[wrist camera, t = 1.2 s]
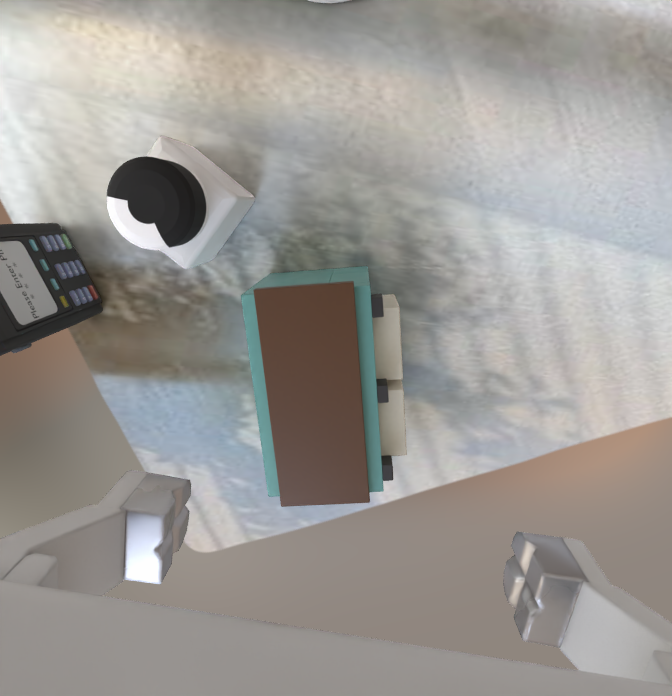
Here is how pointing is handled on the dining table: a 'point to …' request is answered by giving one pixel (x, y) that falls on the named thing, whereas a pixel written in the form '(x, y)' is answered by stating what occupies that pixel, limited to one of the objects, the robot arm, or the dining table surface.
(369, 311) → the toy piano
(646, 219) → the dining table surface
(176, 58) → the dining table surface
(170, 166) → the medicine bottle
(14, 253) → the card reader
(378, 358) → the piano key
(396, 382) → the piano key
